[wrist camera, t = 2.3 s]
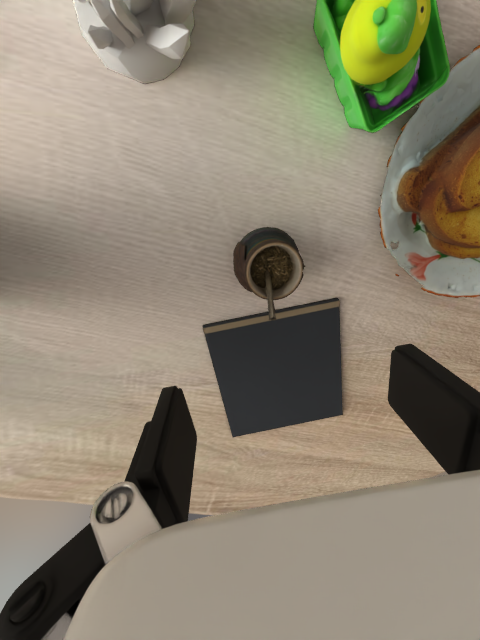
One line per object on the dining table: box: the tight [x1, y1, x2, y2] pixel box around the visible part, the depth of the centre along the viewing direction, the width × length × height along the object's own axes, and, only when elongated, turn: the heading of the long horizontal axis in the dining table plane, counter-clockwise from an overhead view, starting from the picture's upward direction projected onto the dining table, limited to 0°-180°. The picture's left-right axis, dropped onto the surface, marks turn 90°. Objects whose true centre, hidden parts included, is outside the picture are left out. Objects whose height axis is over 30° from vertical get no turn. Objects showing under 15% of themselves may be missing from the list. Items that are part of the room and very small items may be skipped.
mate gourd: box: [233, 227, 305, 320], centre depth 26 cm, size 7×8×10 cm
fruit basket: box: [313, 0, 450, 133], centre depth 19 cm, size 11×9×11 cm
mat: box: [203, 298, 343, 437], centre depth 38 cm, size 20×18×1 cm
